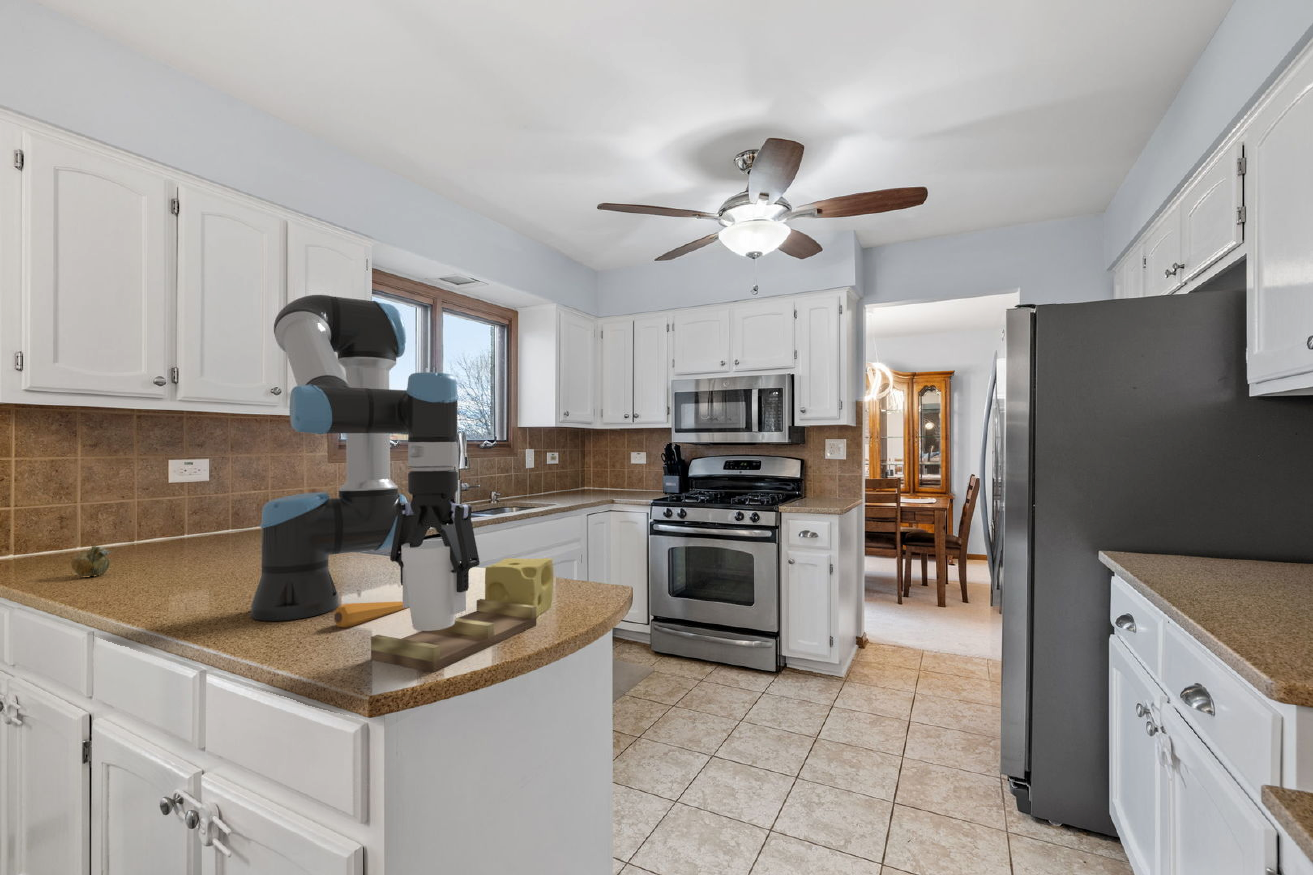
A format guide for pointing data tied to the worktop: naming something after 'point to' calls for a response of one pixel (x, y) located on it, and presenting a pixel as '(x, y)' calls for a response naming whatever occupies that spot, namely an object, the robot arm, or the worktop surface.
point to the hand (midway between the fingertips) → (434, 608)
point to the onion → (91, 562)
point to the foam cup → (428, 584)
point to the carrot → (363, 612)
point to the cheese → (521, 582)
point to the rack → (456, 637)
